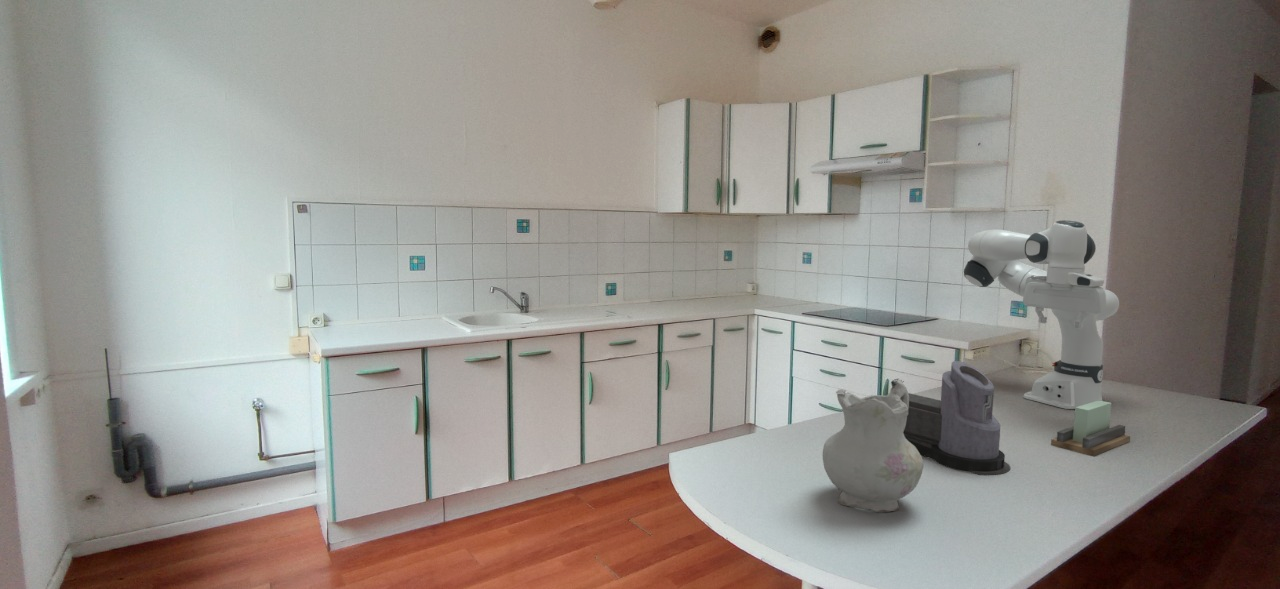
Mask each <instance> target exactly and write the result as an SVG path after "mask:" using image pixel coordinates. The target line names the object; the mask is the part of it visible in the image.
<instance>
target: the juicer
mask: <svg viewBox="0 0 1280 589" xmlns="http://www.w3.org/2000/svg"><path fill="white" fill-rule="evenodd" d="M950 367H951V368H950V370H948V371H947V370H946V371H944V372H943V373H942V374H941V376H942V377H941V392H940V395H941V396H940V399H935V398H932V397H927V396H923V395H919V394H914V393H910V392H908V394H909V408H908V416H907V420H906V426H905V429H904V432H903V434H904V436H905V438H906V439H907V440H908V441H909V442H910V443H911V444H913V445H914V446H915V447H916V449H917V450H918V452H919V453H920V455H921V457H922V456H923V457H925V458H927V459H931V460H933V461H934V462H936V463H937V464H939V465H941V466H944V467H947V468H949V469H953V470H956V471H962V472H967V473H972V474H975V475H978V476H1000V475H1005V474H1007V473H1009V472H1011V469H1012V468H1011V466H1010V464H1009V463H1008V462H1006V460H1005V458H1006V457H1005V456H1006V455H1005V453H1004V452H1003V451H1002V450H1000V440H1001V439H1000V438H1001V423H1000V422H999V420H998V419H997V418H996V416H994V415H993V412H994V411H993V407H994V394H995V386H994V383H993V382H992V380H990V378H989V377H988V376H987V375H986V374H984V373H983V372H982V371H981V370H979V369H977V368H976V367H975V366H972V365H971V364H968V363H966V362H963V361H960V360H954V361H952V362H951V366H950Z"/></svg>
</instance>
